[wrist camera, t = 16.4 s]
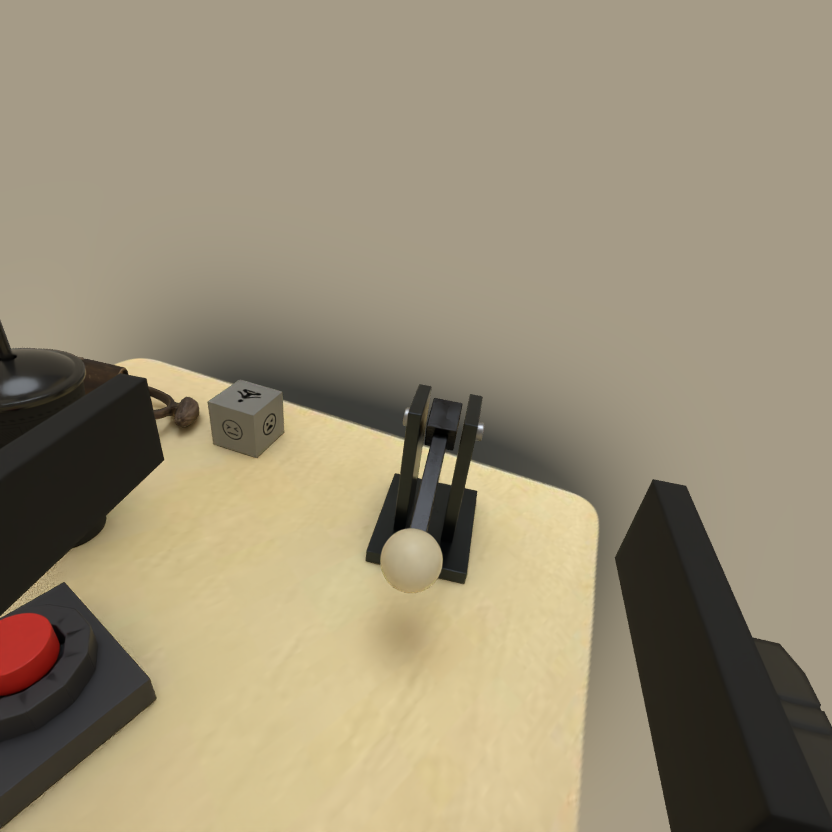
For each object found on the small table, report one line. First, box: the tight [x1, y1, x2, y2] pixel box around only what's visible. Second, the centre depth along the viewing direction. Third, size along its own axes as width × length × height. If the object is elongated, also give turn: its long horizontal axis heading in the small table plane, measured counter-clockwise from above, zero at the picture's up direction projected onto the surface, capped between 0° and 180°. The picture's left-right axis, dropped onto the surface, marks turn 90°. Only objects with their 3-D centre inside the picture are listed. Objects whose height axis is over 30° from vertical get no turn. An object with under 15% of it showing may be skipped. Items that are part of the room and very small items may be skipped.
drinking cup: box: [0, 321, 106, 548], centre depth 33 cm, size 8×8×20 cm
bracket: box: [366, 384, 484, 584], centre depth 39 cm, size 10×8×13 cm
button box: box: [0, 582, 156, 828], centre depth 27 cm, size 10×8×4 cm
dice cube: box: [208, 380, 284, 458], centre depth 49 cm, size 5×5×5 cm
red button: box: [0, 613, 60, 696], centre depth 25 cm, size 4×4×2 cm
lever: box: [380, 398, 462, 593], centre depth 33 cm, size 14×4×4 cm, turn 169°
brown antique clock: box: [78, 357, 199, 427], centre depth 48 cm, size 7×13×10 cm
